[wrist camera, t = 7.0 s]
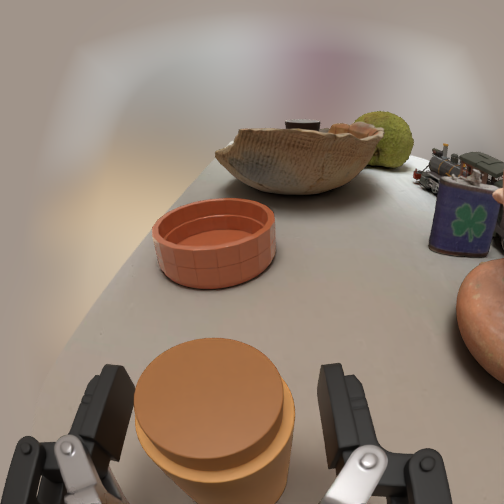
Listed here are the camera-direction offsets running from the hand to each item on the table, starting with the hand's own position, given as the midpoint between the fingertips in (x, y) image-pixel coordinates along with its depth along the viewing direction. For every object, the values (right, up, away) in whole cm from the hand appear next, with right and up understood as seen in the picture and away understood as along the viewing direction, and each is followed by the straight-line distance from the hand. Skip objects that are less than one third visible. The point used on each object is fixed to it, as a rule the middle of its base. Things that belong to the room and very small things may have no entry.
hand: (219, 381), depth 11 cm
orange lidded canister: (0, -7, +2) cm, 7 cm away
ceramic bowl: (+10, +17, +43) cm, 47 cm away
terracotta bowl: (-3, +5, +23) cm, 24 cm away
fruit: (+32, +26, +56) cm, 70 cm away
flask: (+27, +5, +20) cm, 35 cm away
